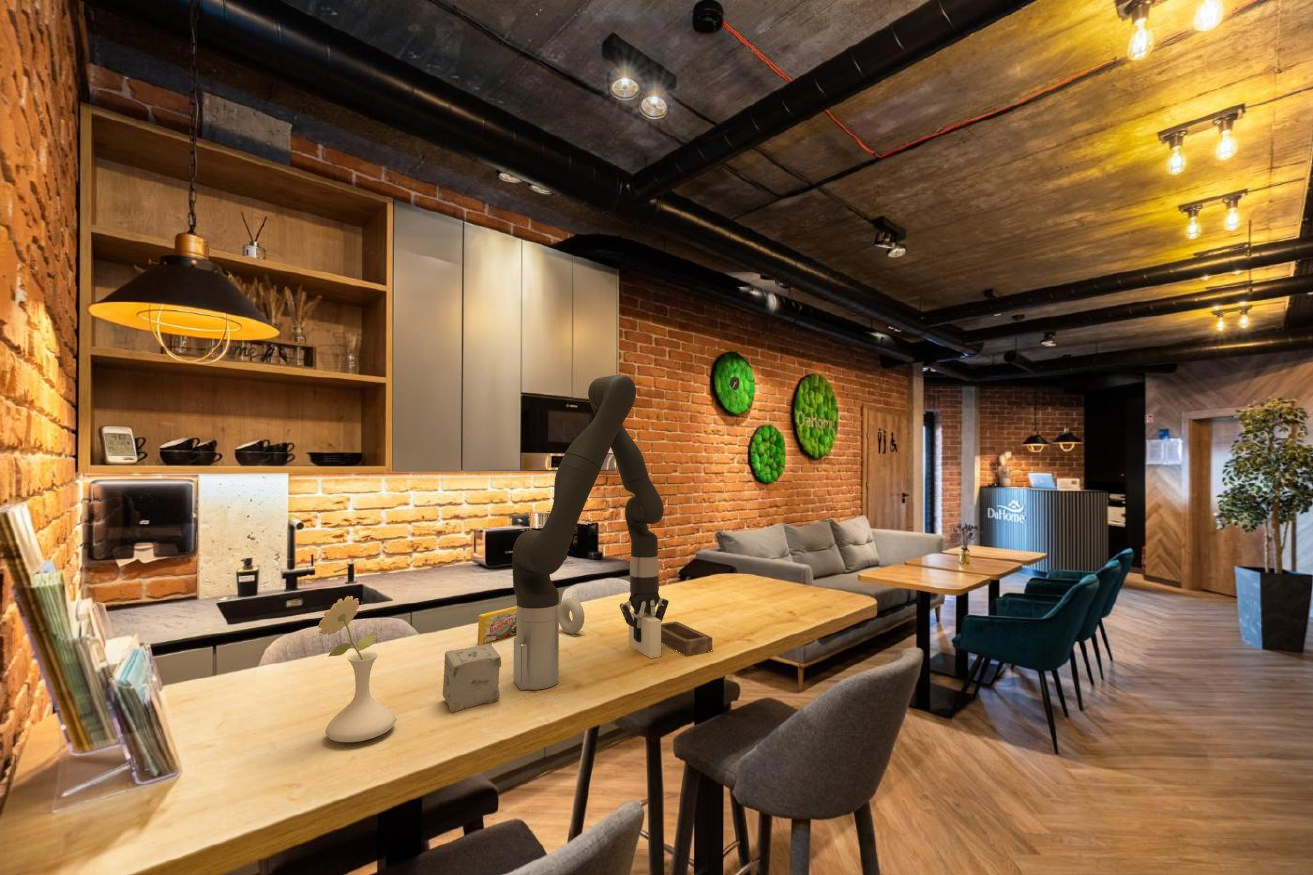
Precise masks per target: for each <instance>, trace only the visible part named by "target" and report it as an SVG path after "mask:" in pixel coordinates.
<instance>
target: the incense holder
mask: <svg viewBox="0 0 1313 875" xmlns="http://www.w3.org/2000/svg"><path fill="white" fill-rule="evenodd" d="M501 660H502V657H501V655H500V653H498V652H497V651H496V649H495V647H494V646H493V645H492V644H487V645H481V646H477V645H476V646H471V647H466V648H459V649H452V650H451V649H450V650H447V651H445V653H444V664H443V666H444V668H443V670H444V671H443V685H442V697H443V698H444V700H445V701H446V704H447V706H448V708H449V712H450V713H451V714H452V713H455V712H456V713H457V712H460V711H462V710H463V709H467V708H471V707H475V706H477V705H478V706H479V705H481V704H487V703H488V704H492V703H494V702H497V701H498V700H499V699H500V688H499V684H500V682H499V681H500V668H501V667H502V661H501Z"/></svg>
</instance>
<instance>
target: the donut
mask: <svg viewBox="0 0 1313 875" xmlns="http://www.w3.org/2000/svg"><path fill="white" fill-rule="evenodd" d="M570 612H571V614H572V615H571V614H570ZM570 615H571V616H572V619H571V617H570ZM584 624H585V611H584V608H583V606H582V604H581V603H580V601H578V599H575V598H574V597H567V598H565V599H563V600H562V601H561V603H559V627H560V628H561V629H562V630H563V631H564V632H565V633H567V634H569V635H570V634H571V635H575V634H577V633H579V632H580V630H581V629H583V626H584Z"/></svg>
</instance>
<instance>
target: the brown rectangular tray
mask: <svg viewBox="0 0 1313 875" xmlns="http://www.w3.org/2000/svg"><path fill="white" fill-rule="evenodd" d="M662 643H663V644H662ZM661 644H662V645H664V644H665V645H664V646H666V645H667V646H666V647H667V648H670V649H671V648H672V650H673V649H675V650H677V651H678V652H677V651H676V652H677V653H679V652H680V653H679V654H681V653H682V654H681V655H683V654H684V655H685V656H684V655H683V656H684V657H689V656H688V655H691V656H694V655H693V654H696V655H699V654H698V653H701V654H703V653H702V652H706V651H711V650H712V651H713V637H712V636H710V635H707V634H705V633H704V632H700V631H699V630H696V629H694V628H692V627H690V626H688V625H685V624H683V623H681V622H678V621H670V622H663V623H662V622H661ZM675 650H674V651H675ZM706 653H707V652H706Z"/></svg>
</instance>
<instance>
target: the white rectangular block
mask: <svg viewBox="0 0 1313 875" xmlns="http://www.w3.org/2000/svg"><path fill="white" fill-rule="evenodd" d="M633 612H634V610H630V613H631V615H632V618H634V617H633ZM661 624H662V622H661V620H660V619H657V618H655V617H653V616H650V615H648V614H646V613H644V616H643V618H642V620H641V627H640V628H641V642H639V643H638V642H636V640H635V639H634V628H633V627H632V626H630V625H628V646H629V647H630V648H633V649H634V650H636V649H637V650H638V651H637V650H636V651H637V652H639V651H640V652H639V653H641V654H642V653H643V655H644V656H646V657H648V658H649V659H654V658H660V656H661V657H662V643H661Z"/></svg>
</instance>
